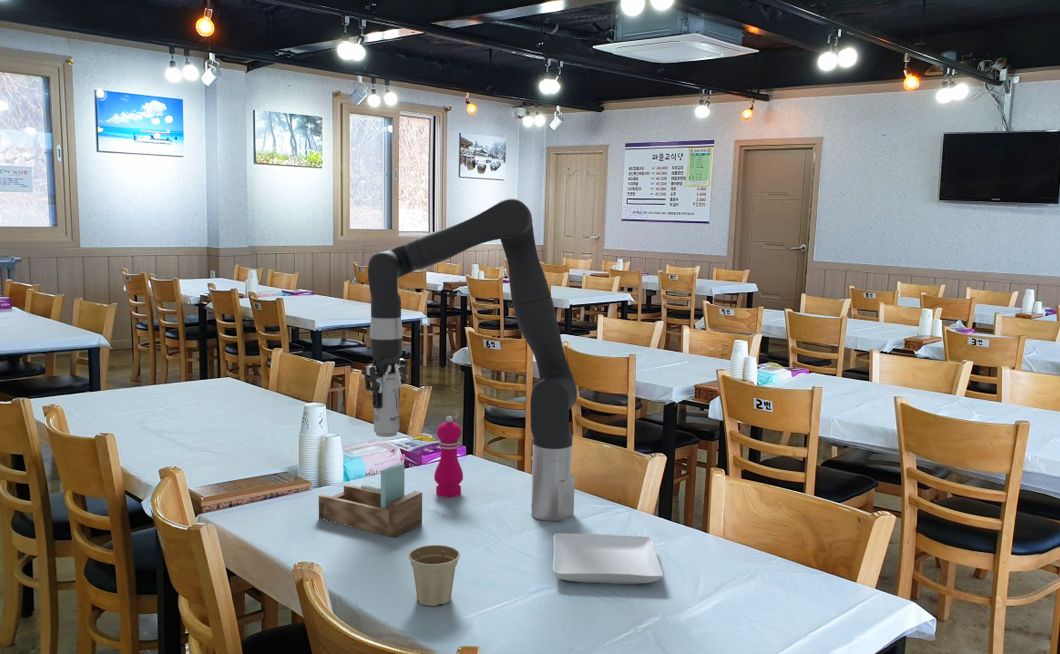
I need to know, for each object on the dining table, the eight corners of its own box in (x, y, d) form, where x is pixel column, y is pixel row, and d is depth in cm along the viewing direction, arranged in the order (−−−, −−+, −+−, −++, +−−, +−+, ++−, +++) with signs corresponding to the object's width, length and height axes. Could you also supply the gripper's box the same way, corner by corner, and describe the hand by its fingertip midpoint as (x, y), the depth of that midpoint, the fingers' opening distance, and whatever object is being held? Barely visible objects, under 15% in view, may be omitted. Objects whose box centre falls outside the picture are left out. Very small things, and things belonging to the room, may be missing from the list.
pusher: (404, 515, 194) (404, 464, 193) (385, 524, 188) (385, 471, 187) (372, 507, 199) (372, 457, 197) (352, 516, 193) (352, 465, 191)
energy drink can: (396, 437, 202) (396, 375, 200) (371, 437, 202) (370, 375, 200) (401, 431, 208) (400, 370, 206) (376, 430, 208) (376, 370, 206)
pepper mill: (458, 499, 212) (459, 420, 209) (430, 496, 213) (430, 418, 210) (466, 490, 219) (467, 413, 216) (439, 487, 220) (439, 411, 217)
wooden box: (422, 524, 194) (422, 492, 193) (396, 537, 186) (396, 504, 185) (346, 506, 204) (346, 476, 203) (318, 518, 196) (318, 487, 195)
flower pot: (409, 588, 161) (409, 544, 160) (459, 587, 162) (460, 543, 161) (406, 611, 152) (406, 564, 150) (459, 610, 152) (460, 564, 151)
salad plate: (552, 546, 184) (553, 531, 183) (651, 549, 183) (652, 534, 183) (551, 589, 163) (552, 571, 162) (663, 593, 162) (664, 575, 162)
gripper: (379, 340, 194) (380, 413, 196) (417, 333, 207) (417, 401, 209) (353, 338, 198) (354, 409, 200) (392, 331, 210) (392, 398, 212)
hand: (386, 405), depth 204 cm, fingers closed on energy drink can, 6 cm apart
